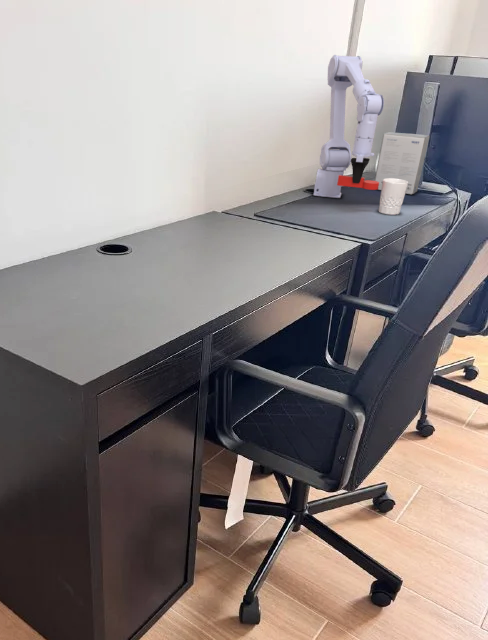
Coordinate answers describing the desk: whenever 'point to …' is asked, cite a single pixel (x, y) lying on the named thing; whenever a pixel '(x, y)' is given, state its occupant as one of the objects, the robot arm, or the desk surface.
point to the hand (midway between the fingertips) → (356, 182)
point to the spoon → (362, 184)
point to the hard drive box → (402, 159)
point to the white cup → (392, 196)
